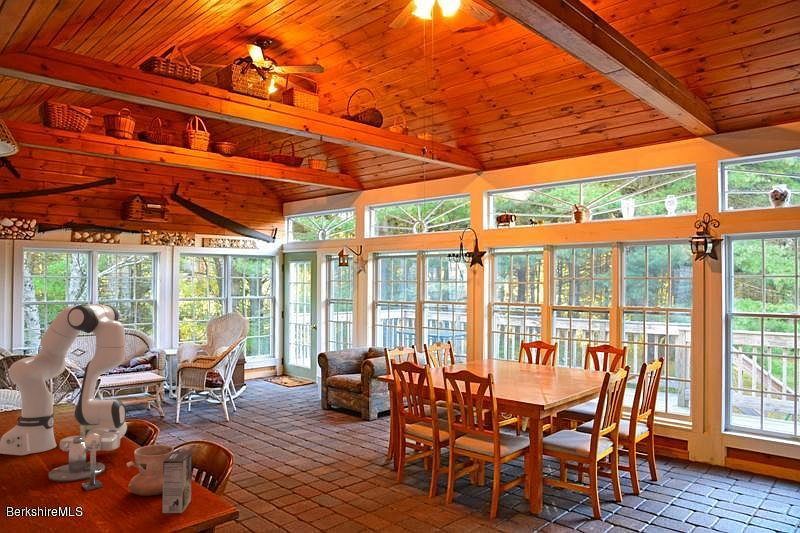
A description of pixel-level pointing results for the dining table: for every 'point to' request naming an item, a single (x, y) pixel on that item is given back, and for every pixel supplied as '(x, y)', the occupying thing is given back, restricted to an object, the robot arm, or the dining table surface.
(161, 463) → the ceramic jug
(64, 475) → the disc
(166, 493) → the coffee box
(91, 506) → the dining table surface
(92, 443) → the metal joystick
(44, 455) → the dining table surface
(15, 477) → the dining table surface
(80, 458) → the capped metal canister
